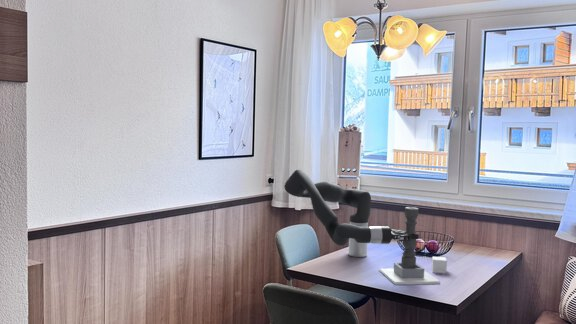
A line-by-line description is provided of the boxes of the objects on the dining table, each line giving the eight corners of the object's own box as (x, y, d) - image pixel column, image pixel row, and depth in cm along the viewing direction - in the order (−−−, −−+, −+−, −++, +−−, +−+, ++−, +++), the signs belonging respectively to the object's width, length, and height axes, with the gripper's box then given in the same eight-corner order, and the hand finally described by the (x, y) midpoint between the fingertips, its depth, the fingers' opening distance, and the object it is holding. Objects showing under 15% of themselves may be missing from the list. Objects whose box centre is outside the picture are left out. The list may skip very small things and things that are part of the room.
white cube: (432, 272, 238) (433, 259, 238) (431, 269, 244) (432, 256, 243) (446, 273, 237) (446, 260, 236) (445, 270, 243) (445, 257, 242)
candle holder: (405, 266, 225) (409, 209, 223) (398, 262, 231) (402, 206, 229) (418, 266, 227) (421, 209, 225) (411, 262, 233) (414, 206, 231)
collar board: (379, 270, 238) (379, 260, 238) (420, 270, 241) (421, 259, 241) (394, 284, 218) (395, 272, 218) (439, 283, 221) (440, 272, 221)
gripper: (384, 229, 219) (423, 230, 221) (374, 223, 233) (410, 223, 235) (383, 247, 219) (422, 247, 222) (373, 239, 233) (409, 240, 236)
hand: (416, 235), depth 228 cm, fingers closed on candle holder, 3 cm apart
